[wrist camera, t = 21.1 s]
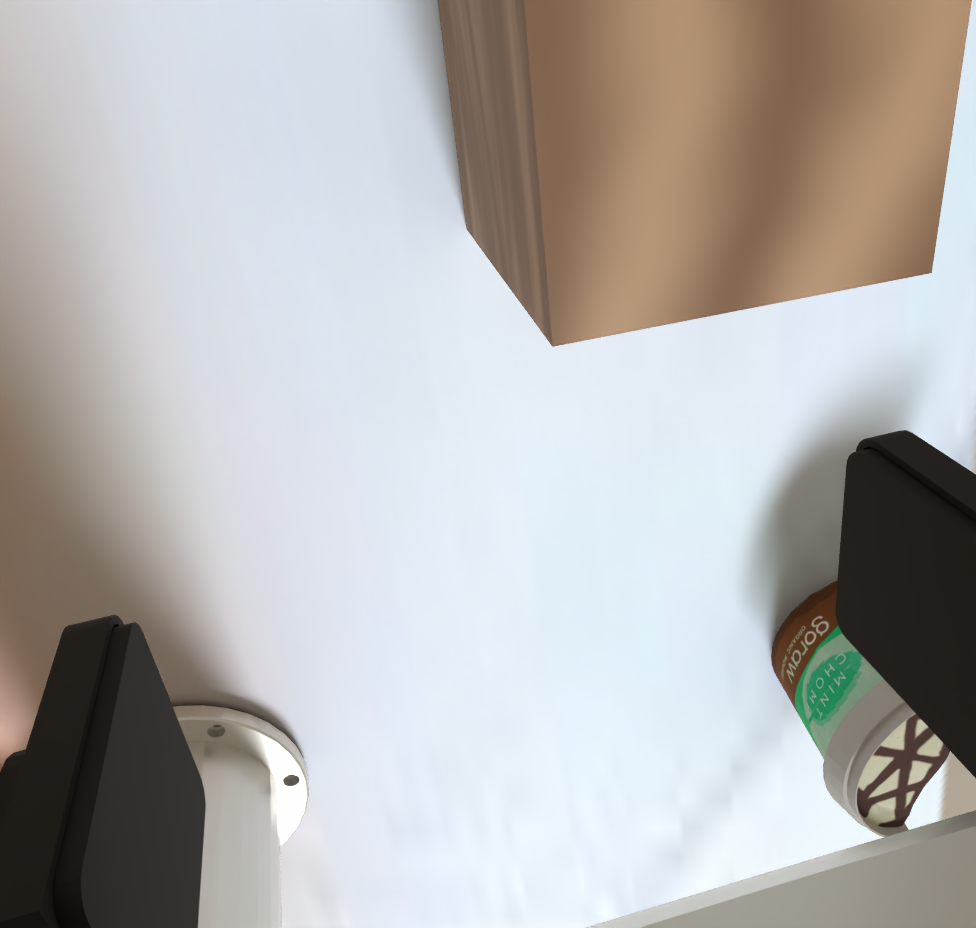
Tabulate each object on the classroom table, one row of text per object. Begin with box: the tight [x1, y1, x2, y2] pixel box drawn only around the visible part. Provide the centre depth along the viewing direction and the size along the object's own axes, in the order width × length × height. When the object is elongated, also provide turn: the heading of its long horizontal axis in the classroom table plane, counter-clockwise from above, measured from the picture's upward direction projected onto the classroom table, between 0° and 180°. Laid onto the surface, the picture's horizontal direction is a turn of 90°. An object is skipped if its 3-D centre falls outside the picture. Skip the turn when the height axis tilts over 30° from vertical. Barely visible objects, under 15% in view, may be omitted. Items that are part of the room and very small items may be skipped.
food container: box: [771, 581, 950, 837], centre depth 49 cm, size 12×6×10 cm, turn 170°
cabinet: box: [438, 0, 972, 346], centre depth 28 cm, size 12×14×13 cm
